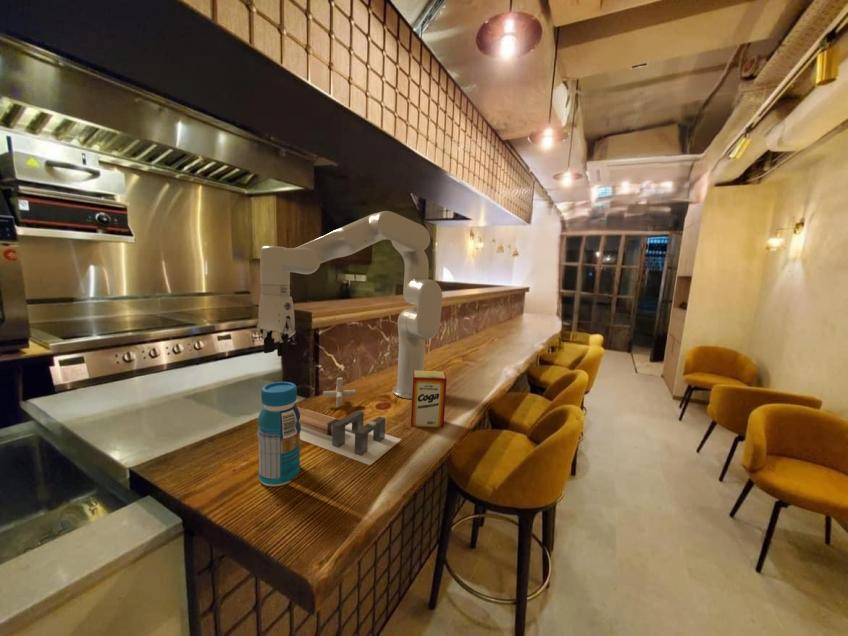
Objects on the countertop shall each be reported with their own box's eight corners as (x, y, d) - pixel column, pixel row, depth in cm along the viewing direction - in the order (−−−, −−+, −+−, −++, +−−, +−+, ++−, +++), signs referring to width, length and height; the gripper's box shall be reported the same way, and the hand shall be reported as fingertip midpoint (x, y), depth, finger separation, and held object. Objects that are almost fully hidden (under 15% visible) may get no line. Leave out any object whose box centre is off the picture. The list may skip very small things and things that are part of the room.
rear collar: (357, 429, 92) (357, 410, 91) (363, 431, 91) (363, 411, 91) (332, 445, 83) (332, 424, 83) (338, 447, 82) (338, 426, 82)
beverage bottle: (253, 490, 67) (251, 394, 64) (263, 466, 75) (261, 380, 72) (298, 486, 69) (298, 393, 66) (302, 463, 77) (303, 379, 74)
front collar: (378, 436, 89) (379, 414, 88) (384, 438, 88) (385, 416, 87) (354, 453, 80) (355, 429, 79) (361, 455, 79) (362, 431, 79)
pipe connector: (322, 415, 102) (323, 384, 100) (323, 402, 111) (323, 373, 110) (356, 413, 104) (356, 382, 103) (353, 401, 114) (354, 373, 113)
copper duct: (286, 420, 95) (286, 409, 95) (295, 416, 98) (295, 405, 98) (335, 437, 87) (335, 425, 87) (343, 432, 90) (343, 421, 90)
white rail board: (306, 412, 103) (306, 407, 103) (401, 442, 88) (401, 436, 88) (267, 430, 91) (267, 424, 91) (370, 469, 76) (370, 462, 76)
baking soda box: (410, 429, 96) (413, 375, 94) (410, 419, 103) (413, 369, 100) (443, 430, 96) (446, 377, 94) (441, 420, 103) (444, 370, 101)
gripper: (307, 292, 94) (307, 356, 96) (266, 288, 101) (266, 347, 104) (286, 293, 87) (286, 361, 90) (243, 289, 94) (244, 351, 97)
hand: (275, 353), depth 97 cm, fingers open, 4 cm apart
